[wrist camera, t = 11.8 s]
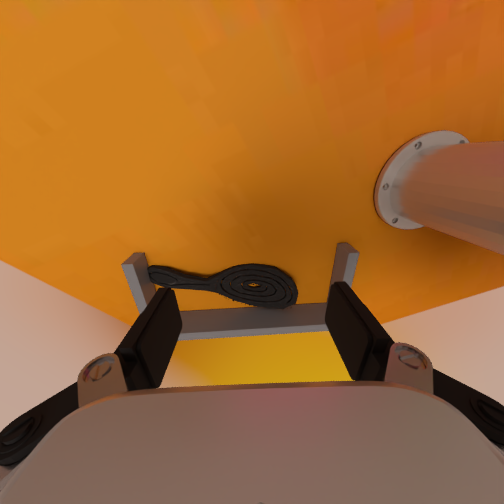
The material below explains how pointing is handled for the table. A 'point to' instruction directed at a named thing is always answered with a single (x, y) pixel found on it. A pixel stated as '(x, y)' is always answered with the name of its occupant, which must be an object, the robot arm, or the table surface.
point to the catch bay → (243, 319)
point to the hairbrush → (236, 284)
